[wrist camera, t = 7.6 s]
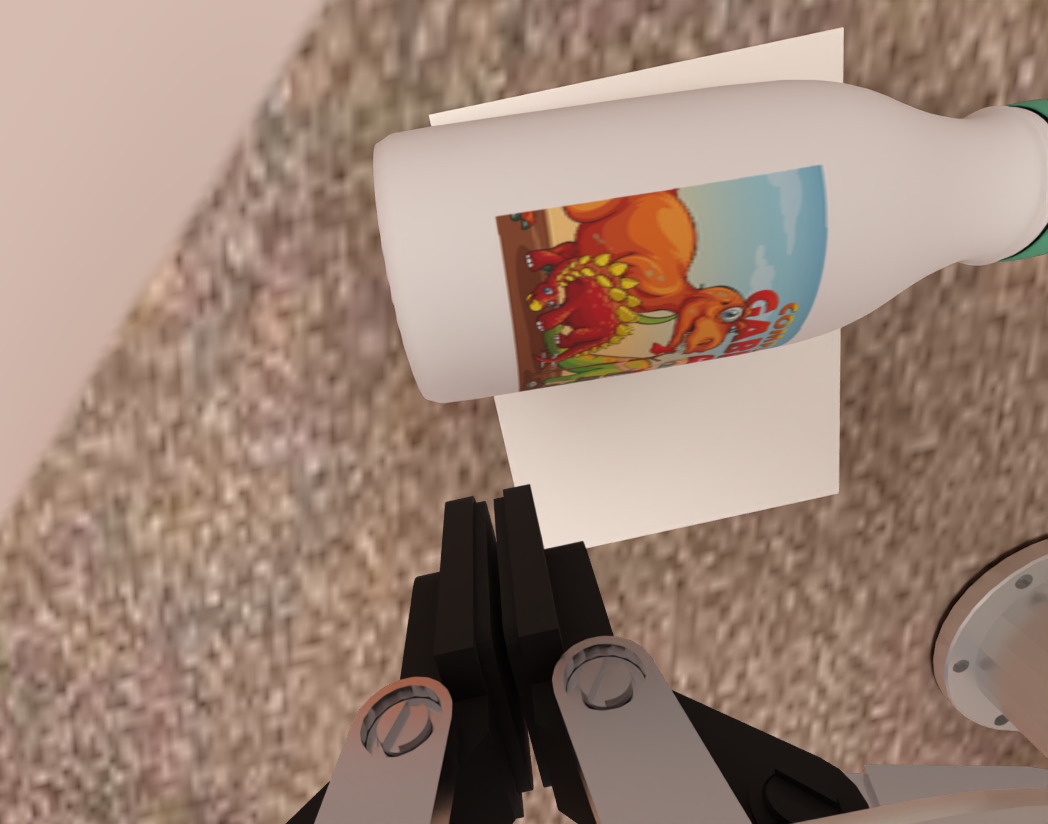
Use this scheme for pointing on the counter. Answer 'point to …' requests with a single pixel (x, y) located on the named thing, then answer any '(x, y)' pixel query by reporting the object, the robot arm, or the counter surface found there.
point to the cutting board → (678, 377)
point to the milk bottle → (686, 225)
